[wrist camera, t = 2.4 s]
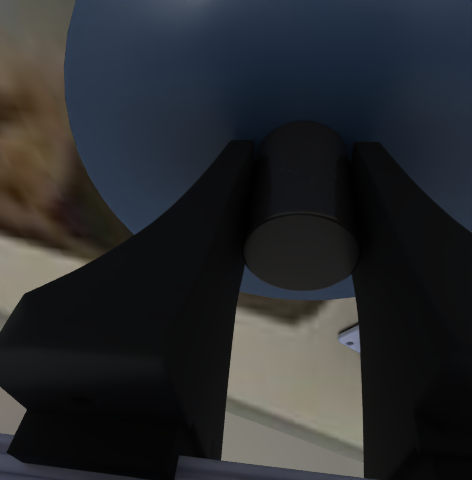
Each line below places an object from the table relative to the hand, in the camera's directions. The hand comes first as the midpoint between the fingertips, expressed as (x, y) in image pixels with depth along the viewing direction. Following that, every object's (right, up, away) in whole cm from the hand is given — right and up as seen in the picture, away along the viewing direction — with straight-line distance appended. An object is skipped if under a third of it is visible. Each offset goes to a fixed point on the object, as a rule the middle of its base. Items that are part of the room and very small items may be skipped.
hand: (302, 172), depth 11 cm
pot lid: (0, +1, +1) cm, 1 cm away
